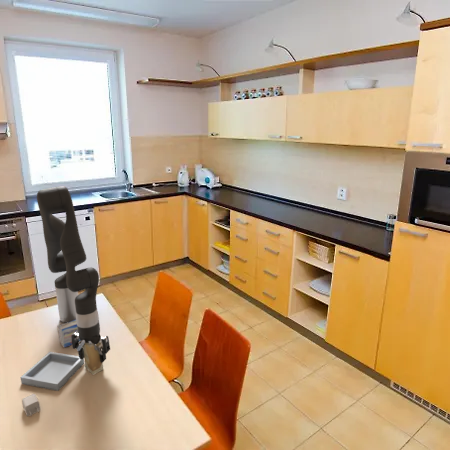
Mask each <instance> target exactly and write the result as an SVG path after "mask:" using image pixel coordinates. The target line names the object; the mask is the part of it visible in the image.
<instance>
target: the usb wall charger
mask: <svg viewBox="0 0 450 450" xmlns="http://www.w3.org/2000/svg"><path fill="white" fill-rule="evenodd" d="M21 404H22V408H23V410H24V412H25V414H26V417H30V416H31V417H32V416H33V415H34V414H36V413H39V412H40V411H41V406H40V401H39V399H38V397H37V395H36V394H35V393H32V394H29V395H28V396H25V397H23V398H22V399H21Z"/></svg>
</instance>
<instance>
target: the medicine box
mask: <svg viewBox="0 0 450 450" xmlns="http://www.w3.org/2000/svg"><path fill="white" fill-rule="evenodd" d="M57 328H58V334H59V341H60V345H61V346H62V347H63V348H67V347H70V346H72V337H71V336H72V335H73V334H74V333H75V332H76V331H77V332H78V329H77V321H76V320H74V321H71V322H64V323H63V324H60V325H57ZM79 343H81V340H80V339H79Z"/></svg>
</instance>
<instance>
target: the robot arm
mask: <svg viewBox="0 0 450 450" xmlns="http://www.w3.org/2000/svg"><path fill="white" fill-rule="evenodd" d="M36 202H37V207H38V210H39V213H40V218H41V221H42V230H43V237H44V242H45V247H46V253H47V266H48V270H49V271H50V272H51V273H53V274H58V273H59V274H60V273H63V274H61V275H60V276H58V277H57V278H55V279H54V288H55V296H56V302H57V309H58V315H59V321H60V322H62V323H68V322H71V321H74V320H76V321H77V329H78V332H77V331H76V332H75V333H74V334H73V335H72V336H71V337H72V345H71V346H72V347H71V348H72V349H73V350H76V351H77V352H78V353H77V354H78V356H79V358H80V359H83V358H84V350H83V346H84V345H85V343H89V344H90V345H94V349H95V350H96V351H98V352H99V353H100V354H99V355H100V362H101V363H103V364H104V362H105V361H106V360H107V353H109V351H110V350H111V345H110V340H109V336H108V335H105V336H101V334H100V333H101V325H100V317H99V311H98V307H97V306H98V305H97V292H98V289H99V288H98V287H99V283H100V274H99V273H98V270H97V269H96V268H94V267H92V266H91V267H87V268H86V267H85V268H82V269H79V270H76V268H77V266H80V265H81V264H83V263H85V262H86V260H87V254H86V252H85V249H84V245H83V243H82V240H81V235H80V232H79V231H80V230H79V226H78V221H77V218H76V211H75V207H74V203H73V198H72V196H71V192H70V191H69V189H68V187H66V186H64V185H60V186H54V187H49V188H43V189H40V190H38V192H37V194H36ZM62 212H65V221H63V220H62V219H60V218H58V217H57V216H55V215H54V214H57V213H62ZM80 291H83V292H81V293H79V292H80ZM79 339H80V340H81V341H80V342H79ZM99 341H100V342H101V345H99V346H98V347H97V346H96V344H98V342H99ZM100 347H101V349H100Z"/></svg>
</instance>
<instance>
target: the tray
mask: <svg viewBox="0 0 450 450" xmlns="http://www.w3.org/2000/svg"><path fill="white" fill-rule="evenodd" d="M83 365H85V359H84V358H83V359H80V358H79V355H72V354H66V353H59V352H55V351H48V352H47V353H46V354H45V355H44V356H43V357H41V359H39V361H37V362H36V363H35V364H34V365H32V367H30V368H29V369H28V370H27V371H25V373H24V374H23V375H21V376H20V383H21V385H26V386H31V387H35V388H36V387H37V388H41V389H46V390H51V391H58V392H59V391H60V390H61V388H63V387H64V386H65V384H66V383H68V381H69V380H70V379H71V378H72V377H73V376H74V375H75V374H76V373H77V372H78V371H79V370H80V368H82V367H83Z"/></svg>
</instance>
